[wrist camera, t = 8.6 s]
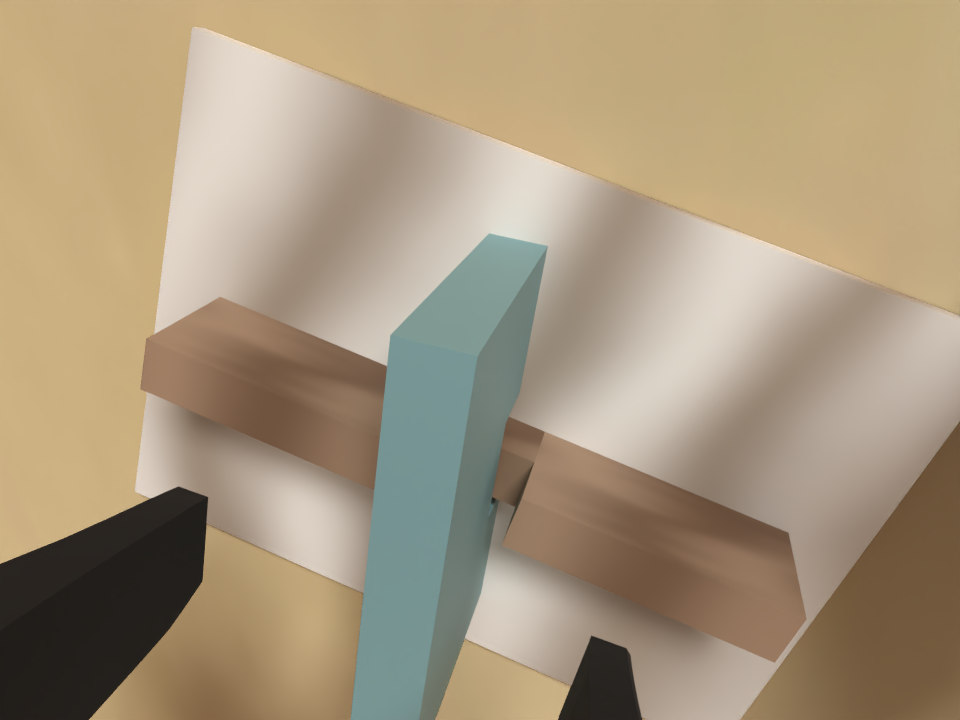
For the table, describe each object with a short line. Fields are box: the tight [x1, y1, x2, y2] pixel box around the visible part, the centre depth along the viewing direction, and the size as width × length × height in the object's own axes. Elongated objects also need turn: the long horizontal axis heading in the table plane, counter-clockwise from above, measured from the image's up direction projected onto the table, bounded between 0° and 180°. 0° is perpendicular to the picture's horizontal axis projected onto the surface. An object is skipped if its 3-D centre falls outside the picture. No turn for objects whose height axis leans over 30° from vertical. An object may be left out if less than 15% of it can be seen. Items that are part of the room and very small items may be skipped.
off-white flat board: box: [135, 27, 960, 720], centre depth 21 cm, size 22×16×4 cm
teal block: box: [351, 233, 548, 720], centre depth 19 cm, size 2×12×8 cm, turn 171°
